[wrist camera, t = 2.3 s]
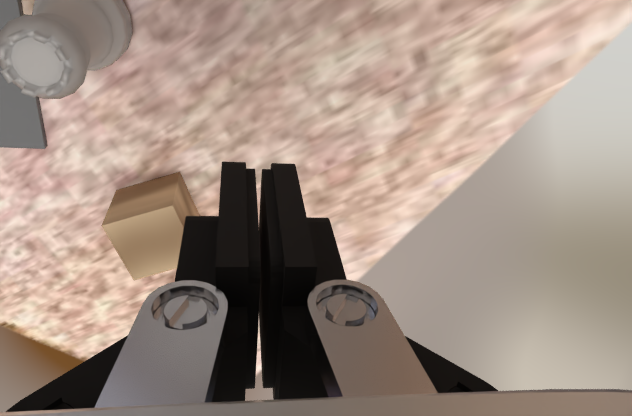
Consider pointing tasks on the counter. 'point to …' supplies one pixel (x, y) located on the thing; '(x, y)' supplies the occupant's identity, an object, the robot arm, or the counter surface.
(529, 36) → the counter surface
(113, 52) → the rook chess piece
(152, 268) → the oak block
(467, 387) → the robot arm
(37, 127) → the mat
